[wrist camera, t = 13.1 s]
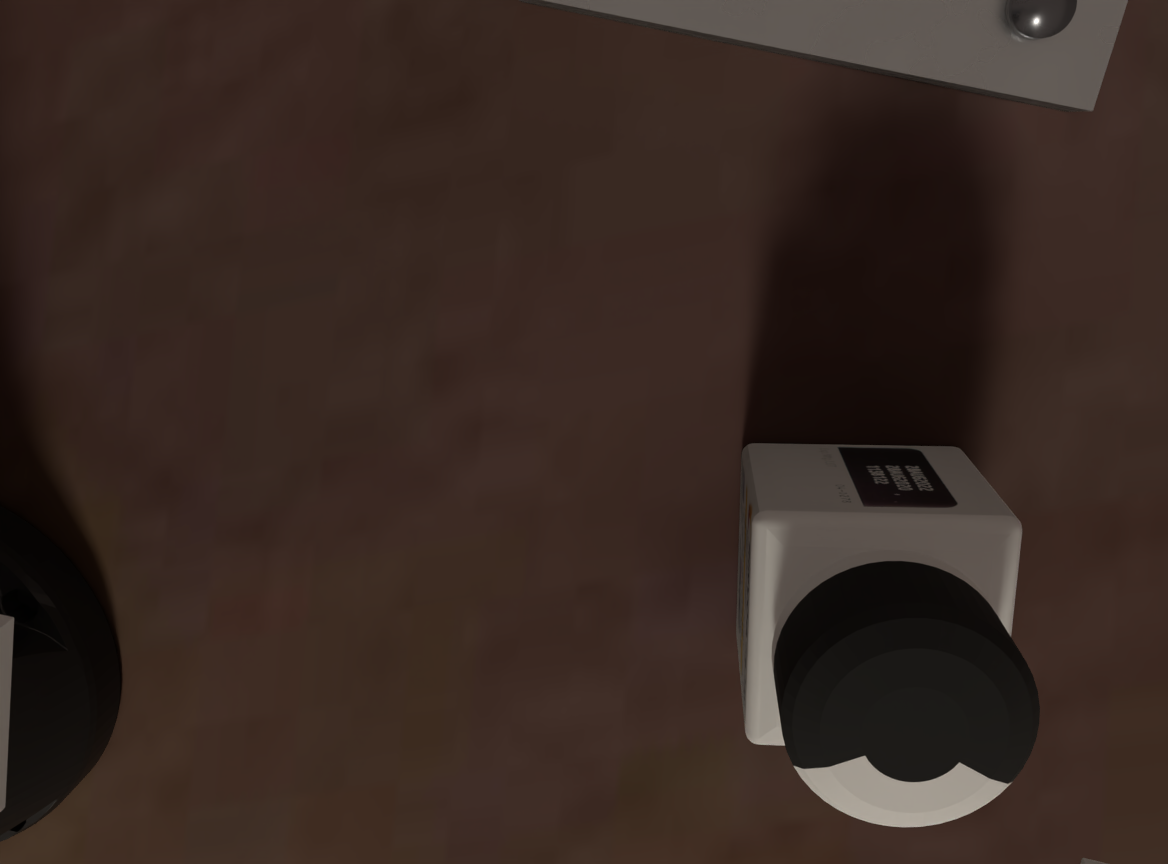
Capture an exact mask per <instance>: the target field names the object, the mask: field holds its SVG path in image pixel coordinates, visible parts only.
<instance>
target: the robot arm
mask: <svg viewBox="0 0 1168 864" xmlns="http://www.w3.org/2000/svg"><path fill="white" fill-rule="evenodd" d="M119 701H120V670H119V662H118V656H117V652H116V647H115V643H114V640H113V636H112V633H111V630H110V627H109V625H108V622H107V620H106V617H105V615H104V613H103V610H102V608H101V606H100V605H99V603H98V601H97V599H96V597H95V595H94V594H93V592H92V590H91V589H90V587H89V586H88V584H87V583H86V581H85V580H84V578H83V577H82V575H81V574H80V573H79V571H78V570H77V569H76V568H75V566H74V565H73V564H72V563H71V562H70V560H69V559H68V558H67V557H66V556H65V555H64V554H63V553H62V552H61V551H60V550H59V549H58V548H57V547H56V546H55V545H54V544H53V543H52V542H51V541H50V540H49V539H48V538H46V537H45V536H44V535H43V534H42V533H41V532H39V531H38V530H37V529H35V528H34V527H33V526H31V525H30V524H29V523H27V522H26V521H24V520H23V519H21V518H20V517H18V516H17V515H15V514H14V513H12V512H10V511H8V510H7V509H5V508H3V507H1V506H0V841H3V840H6V839H8V838H10V837H12V836H14V835H16V834H18V833H20V832H22V831H24V830H26V829H27V828H29V827H31V826H32V825H34V824H36V823H37V822H38V821H40V820H41V819H42V818H44V817H45V816H46V815H48V814H49V813H50V812H51V811H53V810H54V809H55V808H56V807H57V806H58V805H59V804H60V803H61V802H62V801H63V800H64V799H65V798H66V797H67V796H68V795H69V793H70V792H71V791H72V790H73V789H74V788H75V787H76V786H77V785H78V784H79V783H80V782H81V780H82V779H83V778H84V777H85V776H86V775H87V774H88V773H89V772H90V771H91V769H92V768H93V767H94V766H95V764H96V763H97V762H98V760H99V758H100V757H101V755H102V754H103V752H104V750H105V748H106V746H107V744H108V742H109V740H110V737H111V735H112V732H113V729H114V726H115V723H116V719H117V714H118V709H119ZM1080 864H1107V863H1103V862H1099V861H1094V860H1090V859H1085V858H1082V860H1081V863H1080Z"/></svg>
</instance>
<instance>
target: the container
mask: <svg viewBox="0 0 1168 864" xmlns="http://www.w3.org/2000/svg"><path fill="white" fill-rule="evenodd" d="M1021 537H1022V526H1021V522H1020V521H1019V520H1018V518H1017V517H1016V516H1015V515H1014V514H1013V512H1012V511H1011V510H1010V509H1009V507H1008V506H1007V505H1006V504H1005V502H1004V501H1003V500H1002V499H1001V498H1000V496H999V495H998V494H997V493H996V491H995V490H994V489H993V488H992V487H991V485H990V484H989V483H988V482H987V480H986V479H985V478H984V477H983V476H982V474H981V473H980V472H979V471H978V469H977V468H976V467H975V466H974V464H973V463H972V462H971V461H970V460H969V458H968V457H967V456H966V455H965V453H964V452H963V451H962V450H961V449H960V448H957V447H953V446H895V445H833V444H770V443H752V444H748V445H747V446H746V447H745V448H743V451H742V457H741V490H740V523H739V556H738V590H737V623H736V634H737V645H738V656H739V668H740V679H741V690H742V701H743V712H744V724H745V732H746V736H747V738H748V739H749V740H750V741H751V742H752V743H755V744H760V745H784V746H785V747H786V750H787V753H788V755H789V757H790V759H791V762H792V764H793V766H794V767H795V769H796V770H797V772H798V773H799V775H800V776H801V778H802V779H803V780H804V782H805V783H806V784H807V785H808V786H809V787H810V788H811V789H812V791H814V792H815V793H816V794H817V795H818V796H819V797H821V798H822V799H823V800H824V801H825V802H827V803H829V804H830V805H832V806H833V807H835V808H836V809H838V810H840V811H842V812H844V813H846V814H848V815H850V816H852V817H855V818H858V819H861V820H864V821H867V822H870V823H875V824H880V825H885V826H895V827H922V826H928V825H935V824H940V823H944V822H947V821H951V820H954V819H957V818H960V817H962V816H964V815H967V814H969V813H972V812H973V811H975V810H977V809H979V808H980V807H982V806H984V805H986V804H987V803H989V802H990V801H991V800H993V799H994V798H995V797H997V796H998V795H999V794H1000V793H1002V792H1003V791H1004V790H1005V789H1006V788H1007V787H1008V786H1009V785H1010V784H1011V783H1012V782H1013V780H1014V779H1015V778H1016V776H1017V775H1018V774H1019V772H1020V771H1021V770H1022V768H1023V767H1024V765H1025V763H1026V761H1027V759H1028V758H1029V756H1030V754H1031V751H1032V749H1033V746H1034V743H1035V740H1036V737H1037V732H1038V726H1039V713H1040V706H1039V698H1038V691H1037V688H1036V684H1035V681H1034V678H1033V675H1032V673H1031V671H1030V669H1029V667H1028V665H1027V663H1026V661H1025V659H1024V658H1023V656H1022V654H1021V653H1020V651H1019V650H1018V648H1017V646H1016V645H1015V643H1014V641H1013V640H1012V638H1011V632H1012V622H1013V613H1014V603H1015V594H1016V584H1017V575H1018V566H1019V556H1020V547H1021Z"/></svg>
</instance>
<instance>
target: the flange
mask: <svg viewBox="0 0 1168 864" xmlns="http://www.w3.org/2000/svg"><path fill="white" fill-rule="evenodd" d="M519 1H521V2H525V3H530V4H535V5H540V6H545V7H550V8H555V9H560V10H565V11H570V12H575V13H580V14H584V15H589V16H594V17H599V18H604V19H609V20H614V21H619V22H624V23H629V24H634V25H639V26H644V27H649V28H654V29H659V30H664V31H669V32H674V33H679V34H684V35H689V36H694V37H699V38H704V39H709V40H713V41H718V42H723V43H728V44H733V45H738V46H743V47H748V48H753V49H758V50H763V51H768V52H773V53H778V54H783V55H788V56H793V57H798V58H803V59H808V60H813V61H818V62H823V63H828V64H833V65H838V66H842V67H847V68H852V69H857V70H862V71H867V72H872V73H877V74H882V75H887V76H892V77H897V78H902V79H907V80H912V81H917V82H922V83H927V84H932V85H937V86H942V87H947V88H952V89H957V90H962V91H967V92H971V93H976V94H981V95H986V96H991V97H996V98H1001V99H1006V100H1011V101H1016V102H1021V103H1026V104H1031V105H1036V106H1041V107H1046V108H1051V109H1056V110H1061V111H1066V112H1076V111H1093V109H1094V106H1095V102H1096V99H1097V96H1098V93H1099V90H1100V87H1101V84H1102V80H1103V77H1104V74H1105V71H1106V68H1107V65H1108V62H1109V58H1110V55H1111V52H1112V49H1113V46H1114V43H1115V40H1116V36H1117V33H1118V30H1119V27H1120V24H1121V21H1122V18H1123V14H1124V11H1125V8H1126V5H1127V2H1128V0H519Z"/></svg>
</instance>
